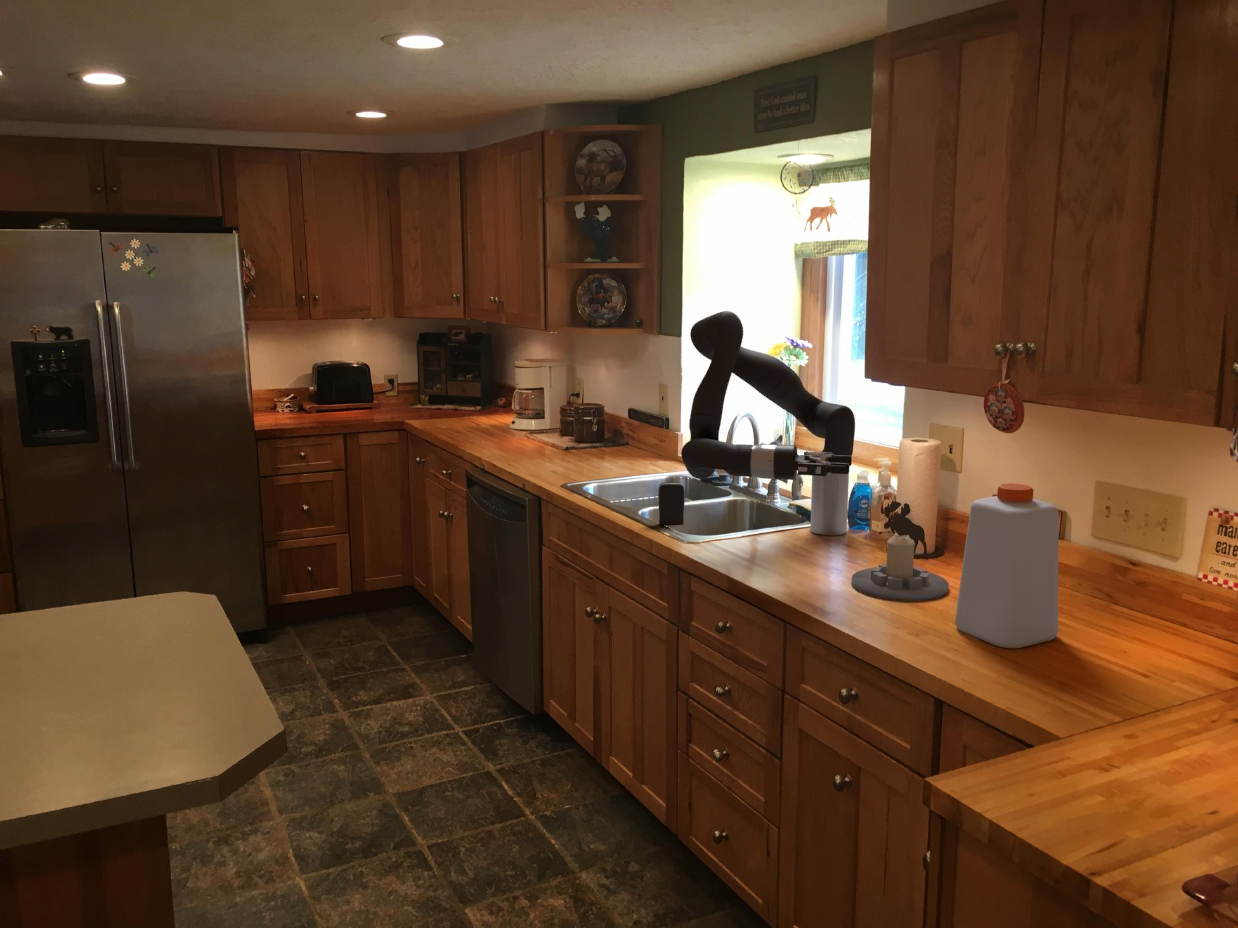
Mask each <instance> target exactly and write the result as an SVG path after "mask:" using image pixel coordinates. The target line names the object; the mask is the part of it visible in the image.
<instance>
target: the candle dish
mask: <svg viewBox="0 0 1238 928" xmlns="http://www.w3.org/2000/svg"><path fill="white" fill-rule="evenodd" d="M903 581H904V578H898V577H890V576H889V577H888V580H887V575H886V563H884V564H883V563H882V564H878V566H873V567H869V568H864V569H860V570H858V571H856V572H854V573H853V574H852V575H851V586H852V588H854V589H855V590H856V591H857V592H859V593H862V594H864V595H866V596H870V597H874V598H877V599H882V600H888V601H895V602H896V601H897V602H909V603H910V602H926V601H933V600H937V599H938V600H939V599H941V598H943V597H945V596H946V595H947V594H948V593H949V590H950V589H949V588H950V583H949V582H948V580H947V579H946V578H944V577H942V576H941V575H938V574H936V573H933V572H929V571H928V570H926V569H924V568H922V567H919V566H916V567H913V577H911V578H906V584H903Z"/></svg>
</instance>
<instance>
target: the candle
mask: <svg viewBox="0 0 1238 928" xmlns="http://www.w3.org/2000/svg"><path fill="white" fill-rule="evenodd" d="M886 543H887V546H886V547H887V548H886V563H885V564H886V575H887V580H888V577H889V576H890V577H898V578H904V581H903V584H906V578H911V577H913V568H914V559H915V558H914V557H915V542H914V541H913V539H912V538H911V537H910V535H909V534H904V535H898V534H895V535H893V536H891V537H890V538H889V539H888V540H887V542H886Z"/></svg>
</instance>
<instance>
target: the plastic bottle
mask: <svg viewBox="0 0 1238 928" xmlns="http://www.w3.org/2000/svg"><path fill="white" fill-rule="evenodd" d="M996 494H997V495H994V496H988V497H982V498H978V499H975V500H974V501H973V502H972V503H971V505H970V509H969V517H968V518H969V519H968V524H967V525H968V526H967V531H966V537H965V539H966V540H965V545H964V546H965V547H964V552H963V553H964V554H963V559H962V567H961V575H960V582H959V590H958V598H957V602H956V603H957V605H956V611H955V620H954V623H955V626H956V627H957V629H958V630H960V632H962V633H964V634H967V635H969V636H972V637H974V638H977V639H978V640H982V641H984V642H986V643H989V644H991V645H993V646H996V647H1000V648H1006V649H1021V648H1025V647H1030V646H1033V645H1037V644H1041V643H1044V642H1046V643H1047V642H1050V641H1052V640H1054V639H1055V638H1056V637H1057V636H1058V634H1059V633H1058V632H1059V516H1060V515H1059V514H1060V513H1059V509H1058V507H1057V506H1056V505H1054V504H1053V503H1049V502H1046V501H1043V500H1039V499H1035V498H1034V488H1033V487H1032V486H1030V485H1027V484H1021V483H1003V484H1002V483H1001V484H1000V485H999V486H998V487H997V493H996Z"/></svg>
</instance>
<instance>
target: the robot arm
mask: <svg viewBox="0 0 1238 928" xmlns="http://www.w3.org/2000/svg"><path fill="white" fill-rule="evenodd" d="M743 338H744V326H743V323H742V320H741V319H740V317H739V316H738V315H737V314H736V313H735V312H733V311H731V310H723V311H720V312H717V313H713V314H711V315H708V316H706V317H704V318H702V319H700V320H697V322H695V323H694V324H693V325H692V327H691V329H690V339H691V343H692V345H693V347H694V349H695V350H696V351H697V352H698V353H699V354H700V355H702V356H703V357H705V358H706V359H708V360H710V363H709V365H708V369H707V370H706V372H705V373H704V376H703V378H702V380H701V382H700V383H699V385H698V387H697V389H696V391H695V394H694V396H693V399H692V405H691V410H690V415H689V422H688V423H689V426H688V427H689V432H690V433H689V434H690V440H688V441H687V442H686V443H685V444H684V445H683V446H682V449H681V451H680V452H681V453H680V455H681V459H682V462H683V464H684V466H685V468H686V471H687V472H688V474H689V475H690V476H692V477H693V478H695V479H697V480H705V479H707V478H709V477H711V476H712V475H713V474H714V472H715V471H716V470H718V471H723V472H725V473H727V475H730V476H734V477H747V478H757V479H758V478H759V479H765V480H767V479H768V480H769V479H770V480H786V481H791V480H792V481H793V480H795V479H796V478H797V475H799V476H811V499H810V500H811V501H810V503H811V504H810V505H811V506H810V529H809V530H810V532H812V533H813V534H817V535H820V536H821V535H822V536H841V535H845V534H846V533H847V531H848V530H847V529H848V509H849V508H848V507H849V506H848V505H849V504H848V503H849V480H850V479H849V478H850V477H849V476H850V475H849V474H850V467H851V466H852V462H853V461H852V460H853V457H852V456H853V453H854V445H855V444H854V443H855V432H856V419H855V414H854V411H852V409H851V407H849V406H846V405H843V404H839V403H831V402H827V401H824V400H822V399H820V398H818V397H816V396H815V395H813V394H812V393H811V392H809V391H808V390H807V389H806V387H804V384H803V382H802V380H801V379H800V376H799V375H798V374H797V372H795V370H794V369H793V368H791V367H790V366H789V365H787V364H786V363H785V362H783V361H782V360H780V359H779V358H777V357H775V356H773V355H771V354H767V353H764V352H761V351H756V350H753V349H749V348H745V347H743V346H742V343H743ZM732 374H734V375H735V376H736V377H737V378H739V379H741V381H743V382H745V383H746V384H747V385H749V386H750V387H752V388H753V389H754V390H755V391H757V392H758V393H759V394H761V395H762V396H763V397H765V398H766V399H768V400H769V401H770V402H772V403H773V404H774V405H776V406H778V407H780V408H781V409H782V410H784V411H786V412H787V413H789V414H790V415H791V416H793V417H794V418H795V419H796V421H798V422H799V423H800V424H801V425H802V426H804V428H805V429H806V430H807V431H809V433H811V434H812V435H813V436H815V437H817V438H820V439H822V440H823V439H824V446H823V450H822V451H807V450H806V451H804V452H803V454H800V455H799V454H798V448H797V445H794V444H772V443H771V444H770V443H769V444H765V443H760V444H734V443H728V442H726V441H725V442H724V441H720V440H719V439H720V437H719V435H720V428H721V423H722V417H723V413H724V411H723V410H724V404H725V398H726V394H727V390H728V386H729V383H730V381H731V377H732Z"/></svg>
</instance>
